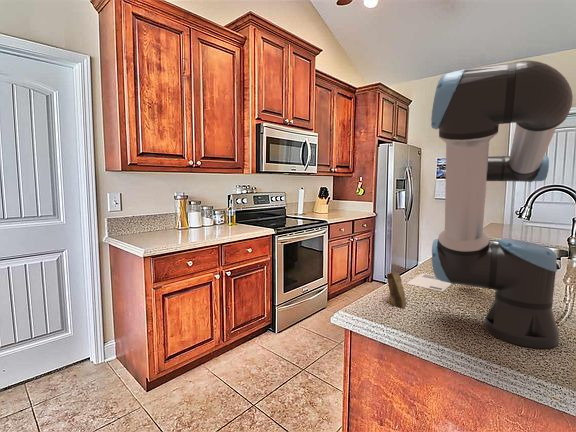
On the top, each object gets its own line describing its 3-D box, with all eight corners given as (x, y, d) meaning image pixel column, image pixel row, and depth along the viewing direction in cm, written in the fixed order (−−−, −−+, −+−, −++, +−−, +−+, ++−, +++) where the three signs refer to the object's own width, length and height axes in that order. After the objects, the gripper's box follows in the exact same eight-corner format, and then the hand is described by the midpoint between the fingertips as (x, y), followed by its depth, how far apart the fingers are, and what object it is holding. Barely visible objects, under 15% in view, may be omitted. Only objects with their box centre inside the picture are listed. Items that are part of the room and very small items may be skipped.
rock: (389, 285, 112) (373, 287, 105) (405, 269, 108) (389, 270, 101) (410, 311, 105) (394, 316, 99) (429, 295, 101) (413, 298, 95)
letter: (443, 291, 112) (443, 291, 112) (405, 283, 121) (405, 283, 121) (456, 279, 126) (456, 279, 126) (421, 273, 134) (422, 273, 134)
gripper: (466, 198, 121) (462, 259, 123) (453, 199, 106) (448, 268, 108) (489, 199, 116) (485, 262, 118) (479, 200, 101) (474, 272, 103)
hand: (467, 265), depth 113 cm, fingers closed on teal cube, 6 cm apart
